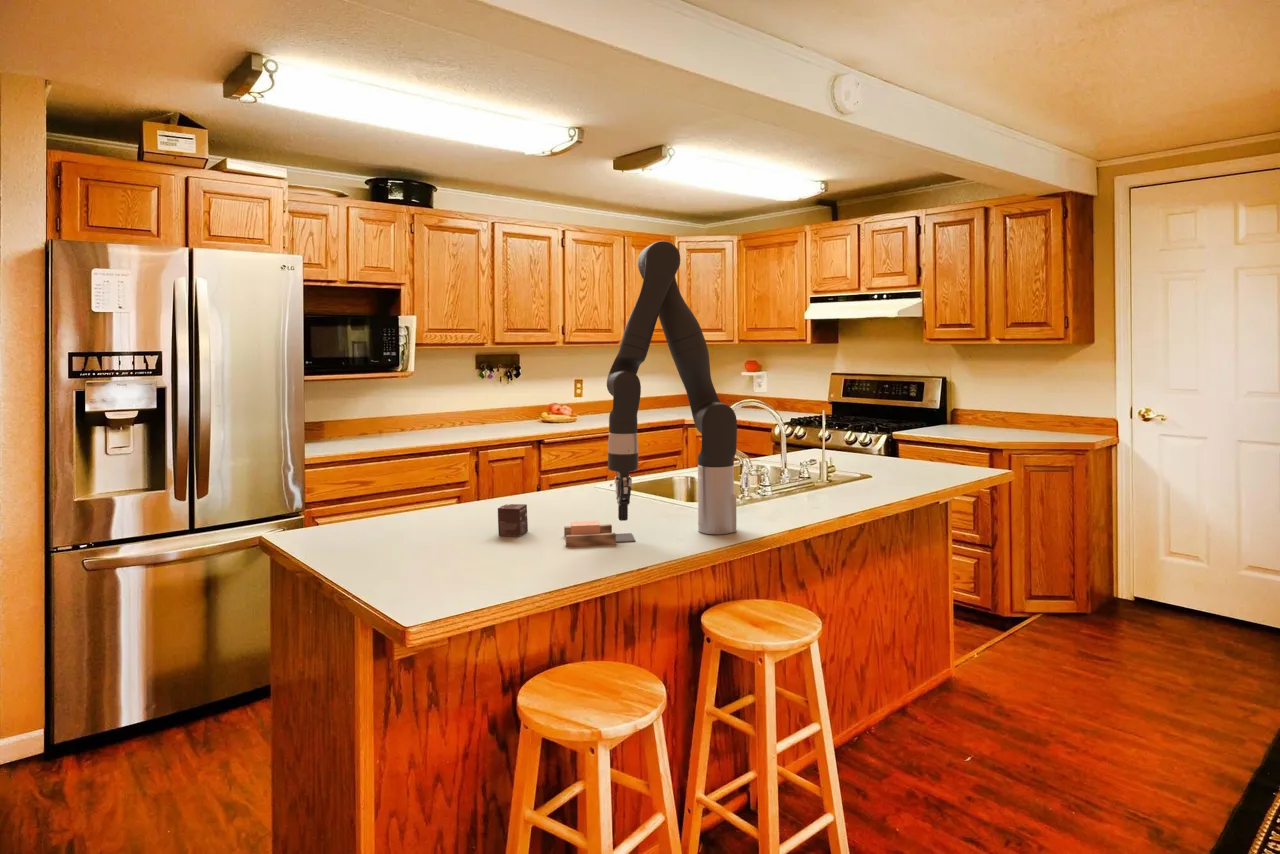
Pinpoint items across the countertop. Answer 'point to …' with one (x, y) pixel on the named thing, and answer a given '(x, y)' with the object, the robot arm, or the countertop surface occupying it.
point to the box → (512, 520)
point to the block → (585, 527)
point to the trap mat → (624, 538)
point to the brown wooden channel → (590, 537)
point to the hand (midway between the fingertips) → (622, 519)
